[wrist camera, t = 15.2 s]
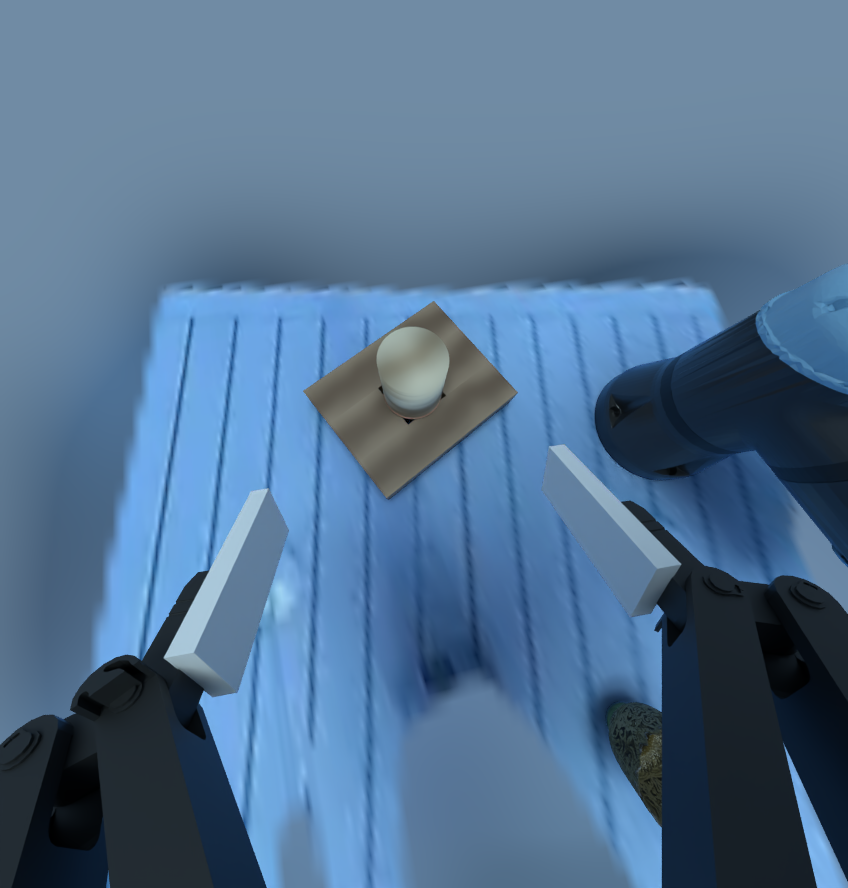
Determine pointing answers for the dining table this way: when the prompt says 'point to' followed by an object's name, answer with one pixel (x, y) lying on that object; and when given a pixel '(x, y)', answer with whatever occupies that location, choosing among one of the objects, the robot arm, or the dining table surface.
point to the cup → (639, 750)
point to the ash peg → (412, 371)
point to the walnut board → (388, 435)
